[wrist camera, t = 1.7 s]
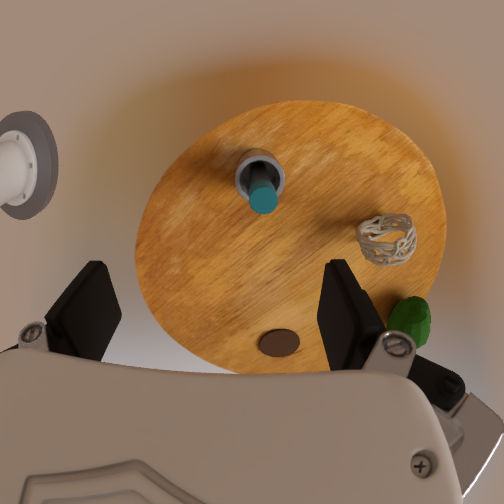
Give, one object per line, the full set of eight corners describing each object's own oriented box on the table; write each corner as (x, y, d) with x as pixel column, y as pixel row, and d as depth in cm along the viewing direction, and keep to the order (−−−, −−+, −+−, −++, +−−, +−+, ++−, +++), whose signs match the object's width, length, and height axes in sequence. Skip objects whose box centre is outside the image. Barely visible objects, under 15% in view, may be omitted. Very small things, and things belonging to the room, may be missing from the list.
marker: (248, 177, 32) (248, 213, 21) (249, 160, 31) (250, 186, 20) (266, 179, 32) (276, 215, 21) (268, 161, 31) (279, 188, 20)
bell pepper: (384, 327, 37) (381, 357, 43) (434, 332, 32) (423, 361, 38) (391, 286, 42) (388, 320, 48) (435, 290, 38) (426, 323, 43)
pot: (236, 187, 33) (233, 202, 28) (238, 147, 31) (236, 154, 26) (276, 189, 33) (282, 205, 28) (280, 150, 31) (287, 157, 26)
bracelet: (400, 226, 36) (428, 252, 29) (354, 246, 37) (375, 277, 30) (396, 202, 34) (425, 224, 27) (347, 222, 35) (369, 250, 28)
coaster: (258, 355, 48) (258, 357, 47) (261, 328, 44) (261, 330, 44) (295, 355, 48) (296, 357, 47) (302, 328, 44) (303, 330, 44)
